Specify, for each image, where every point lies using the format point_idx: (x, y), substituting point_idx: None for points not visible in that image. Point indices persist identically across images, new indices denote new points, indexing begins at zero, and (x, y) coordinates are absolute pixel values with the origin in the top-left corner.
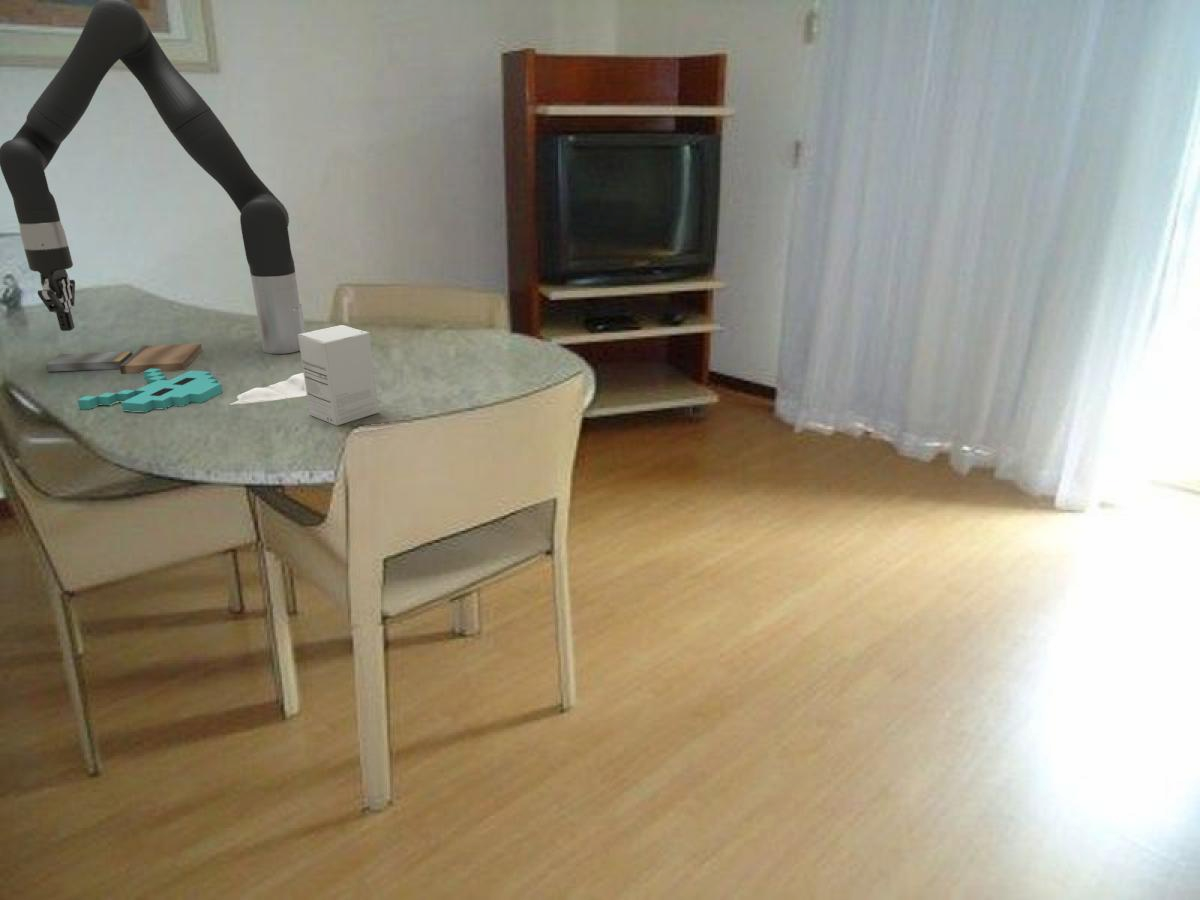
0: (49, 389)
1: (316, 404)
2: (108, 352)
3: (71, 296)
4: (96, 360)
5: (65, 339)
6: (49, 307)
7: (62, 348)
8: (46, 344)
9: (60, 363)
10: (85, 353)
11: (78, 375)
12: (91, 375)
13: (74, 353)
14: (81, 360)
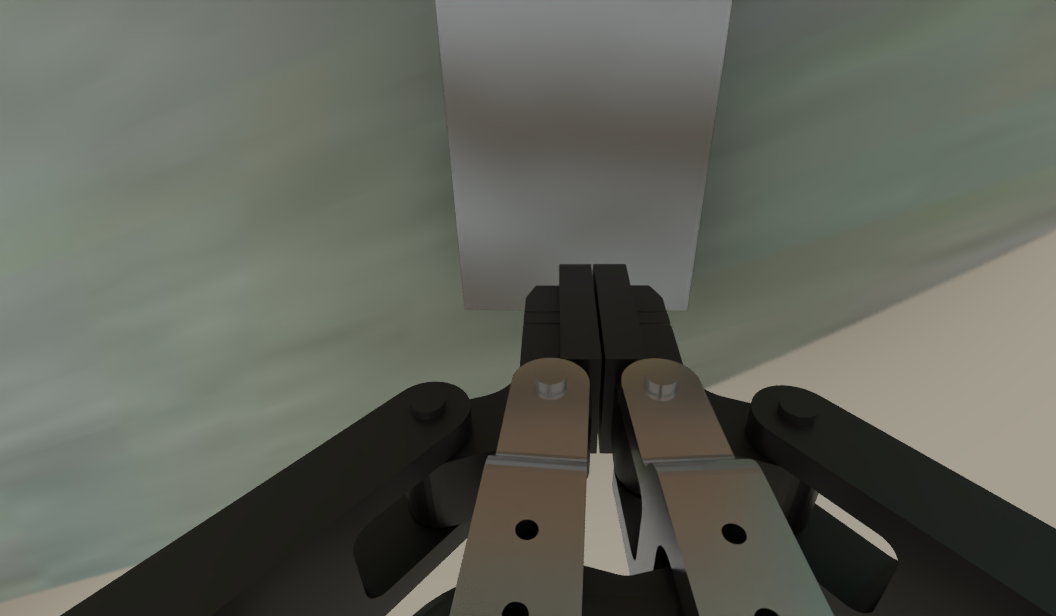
0: (1044, 164)
1: None
2: (447, 20)
3: (504, 471)
4: (677, 28)
5: (33, 416)
6: (855, 535)
7: (191, 376)
8: (136, 454)
9: (691, 241)
10: (463, 179)
11: (783, 104)
12: (821, 12)
13: (458, 244)
14: (648, 140)
